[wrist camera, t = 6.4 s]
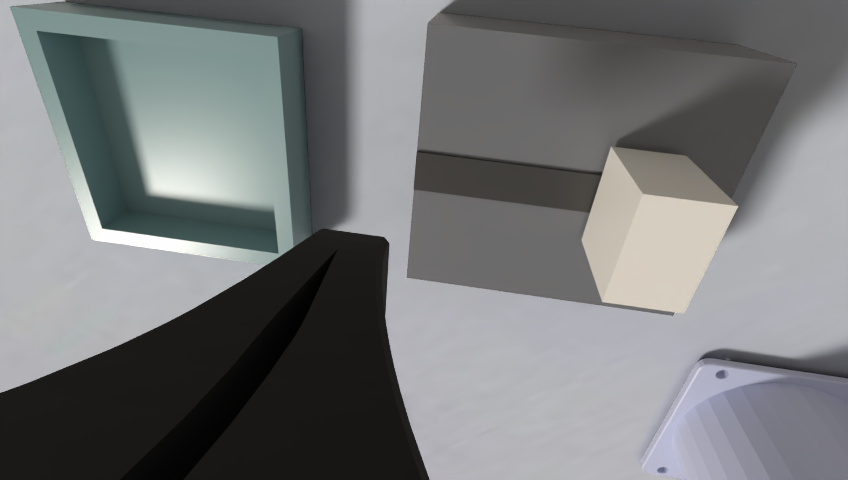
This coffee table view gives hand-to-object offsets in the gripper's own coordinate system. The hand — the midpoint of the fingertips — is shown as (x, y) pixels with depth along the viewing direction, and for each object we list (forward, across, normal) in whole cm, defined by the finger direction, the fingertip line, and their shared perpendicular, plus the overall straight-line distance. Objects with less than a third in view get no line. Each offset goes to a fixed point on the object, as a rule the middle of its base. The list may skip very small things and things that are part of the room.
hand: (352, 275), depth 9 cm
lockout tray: (+8, +8, +1) cm, 12 cm away
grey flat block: (+8, -5, 0) cm, 10 cm away
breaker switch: (+5, -7, 0) cm, 9 cm away
